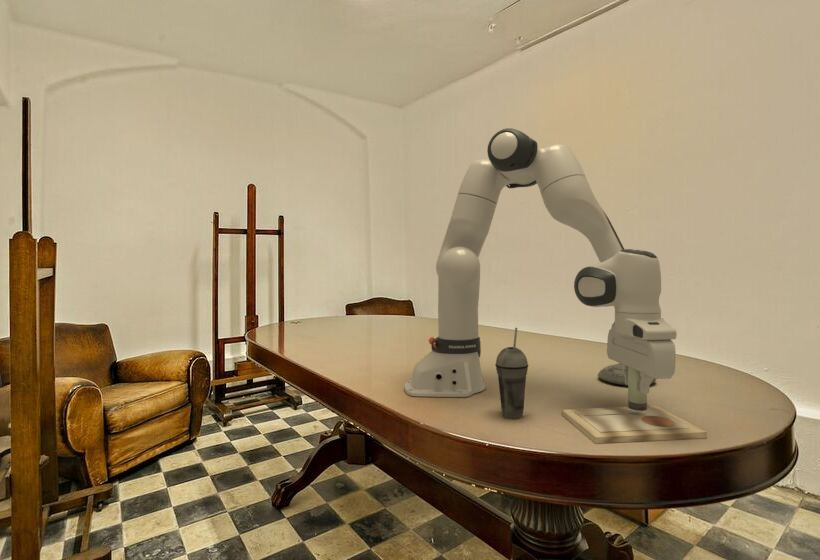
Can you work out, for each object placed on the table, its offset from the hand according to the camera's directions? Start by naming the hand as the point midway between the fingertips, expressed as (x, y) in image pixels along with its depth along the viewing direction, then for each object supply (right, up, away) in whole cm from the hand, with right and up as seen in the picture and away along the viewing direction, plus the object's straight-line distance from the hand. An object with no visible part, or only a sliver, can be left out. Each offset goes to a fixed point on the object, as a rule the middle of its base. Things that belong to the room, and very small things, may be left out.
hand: (636, 389), depth 96 cm
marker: (0, -4, 0) cm, 4 cm away
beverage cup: (-26, -7, +5) cm, 27 cm away
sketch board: (-3, -7, -3) cm, 8 cm away
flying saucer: (+13, -6, +31) cm, 34 cm away
